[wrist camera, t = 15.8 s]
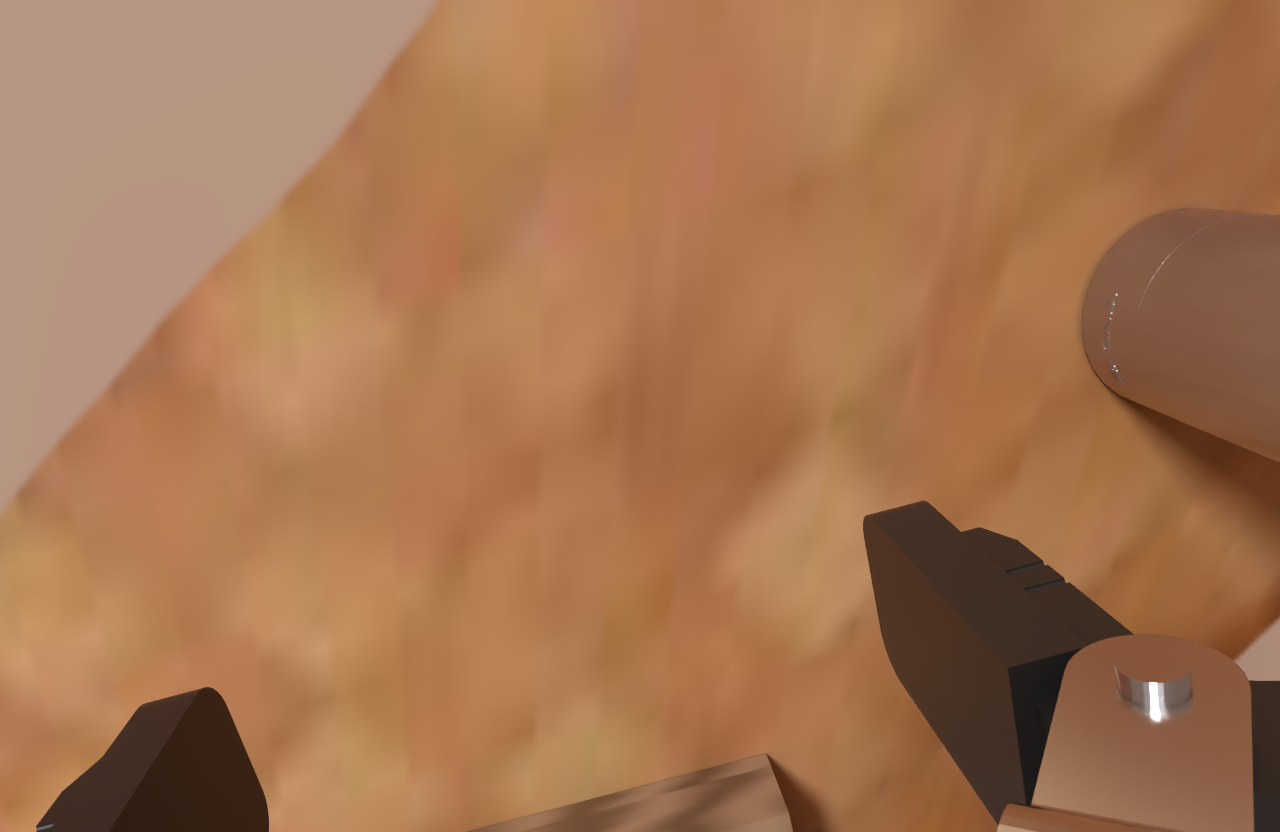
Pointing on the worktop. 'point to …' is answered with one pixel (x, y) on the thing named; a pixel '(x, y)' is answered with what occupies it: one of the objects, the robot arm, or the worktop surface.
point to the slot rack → (676, 805)
